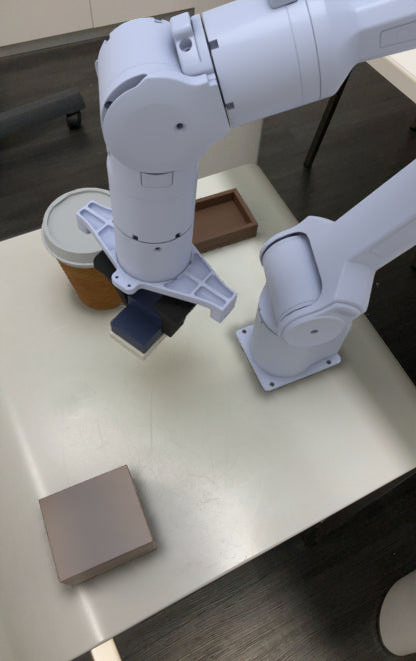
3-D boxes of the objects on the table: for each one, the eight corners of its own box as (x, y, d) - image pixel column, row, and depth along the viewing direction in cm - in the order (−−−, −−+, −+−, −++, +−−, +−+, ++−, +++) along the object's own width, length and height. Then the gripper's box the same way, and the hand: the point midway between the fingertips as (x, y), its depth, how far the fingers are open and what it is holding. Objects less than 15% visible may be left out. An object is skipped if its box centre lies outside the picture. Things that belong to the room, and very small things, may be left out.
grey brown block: (132, 477, 50) (126, 463, 46) (157, 548, 47) (153, 541, 43) (51, 510, 49) (38, 499, 44) (71, 586, 45) (59, 582, 41)
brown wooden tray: (234, 200, 69) (236, 187, 67) (256, 236, 66) (258, 224, 64) (148, 225, 66) (147, 213, 64) (167, 264, 63) (166, 252, 61)
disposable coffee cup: (131, 247, 64) (120, 175, 54) (154, 308, 60) (147, 242, 50) (55, 268, 62) (29, 196, 52) (74, 332, 58) (49, 268, 48)
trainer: (164, 282, 50) (165, 249, 46) (197, 303, 50) (200, 272, 45) (109, 337, 47) (104, 308, 43) (143, 362, 46) (142, 334, 42)
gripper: (35, 193, 36) (65, 301, 47) (203, 304, 32) (190, 391, 44) (104, 141, 39) (116, 254, 51) (263, 238, 35) (237, 335, 47)
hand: (154, 314), depth 47 cm, fingers closed on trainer, 4 cm apart
